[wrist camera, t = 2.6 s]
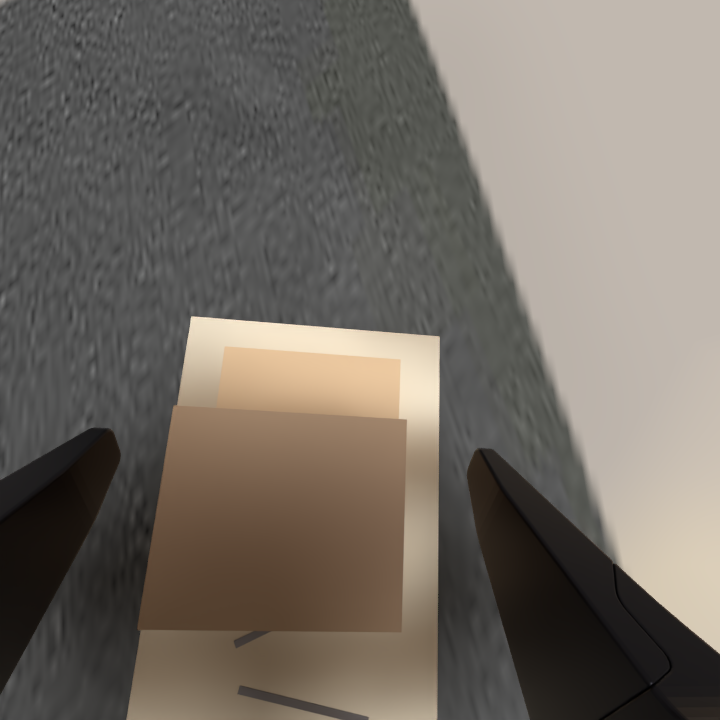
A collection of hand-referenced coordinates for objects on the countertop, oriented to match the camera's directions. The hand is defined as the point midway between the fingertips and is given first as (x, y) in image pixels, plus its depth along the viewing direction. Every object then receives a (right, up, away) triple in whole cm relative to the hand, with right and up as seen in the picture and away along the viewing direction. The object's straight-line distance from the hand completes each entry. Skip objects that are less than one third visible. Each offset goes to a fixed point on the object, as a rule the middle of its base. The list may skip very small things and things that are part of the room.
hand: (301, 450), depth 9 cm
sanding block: (-1, -2, +4) cm, 5 cm away
